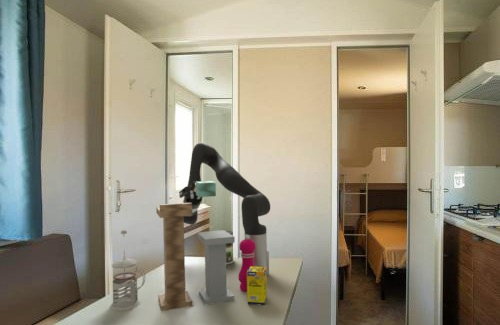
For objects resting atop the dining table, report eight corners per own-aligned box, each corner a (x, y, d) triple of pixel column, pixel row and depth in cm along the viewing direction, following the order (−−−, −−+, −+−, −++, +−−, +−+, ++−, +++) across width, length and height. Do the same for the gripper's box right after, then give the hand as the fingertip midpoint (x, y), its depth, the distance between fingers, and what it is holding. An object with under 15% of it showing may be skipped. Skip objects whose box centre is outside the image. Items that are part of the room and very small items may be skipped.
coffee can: (234, 258, 171) (233, 230, 171) (232, 264, 160) (232, 234, 161) (213, 259, 171) (212, 230, 171) (210, 265, 161) (209, 234, 161)
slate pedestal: (225, 289, 129) (223, 230, 129) (236, 302, 117) (234, 236, 117) (198, 293, 125) (197, 232, 125) (206, 307, 113) (205, 239, 113)
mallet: (202, 189, 147) (202, 177, 147) (215, 196, 127) (215, 182, 127) (188, 190, 145) (188, 178, 145) (199, 197, 125) (199, 183, 125)
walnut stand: (187, 294, 124) (185, 199, 125) (194, 308, 112) (191, 203, 112) (158, 299, 121) (156, 201, 121) (162, 313, 109) (159, 205, 109)
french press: (116, 298, 122) (115, 227, 122) (149, 298, 122) (148, 227, 122) (104, 310, 112) (102, 233, 113) (139, 310, 112) (138, 232, 112)
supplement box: (265, 305, 114) (264, 271, 114) (247, 304, 115) (246, 271, 115) (267, 298, 119) (267, 266, 119) (250, 297, 121) (249, 265, 121)
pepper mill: (260, 286, 131) (259, 233, 131) (254, 293, 124) (253, 237, 124) (242, 285, 133) (241, 232, 133) (235, 291, 126) (234, 236, 127)
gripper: (175, 194, 153) (180, 176, 140) (206, 193, 158) (214, 174, 144) (176, 210, 150) (182, 192, 136) (208, 208, 155) (217, 191, 141)
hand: (198, 183), depth 140 cm, fingers closed on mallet, 3 cm apart
